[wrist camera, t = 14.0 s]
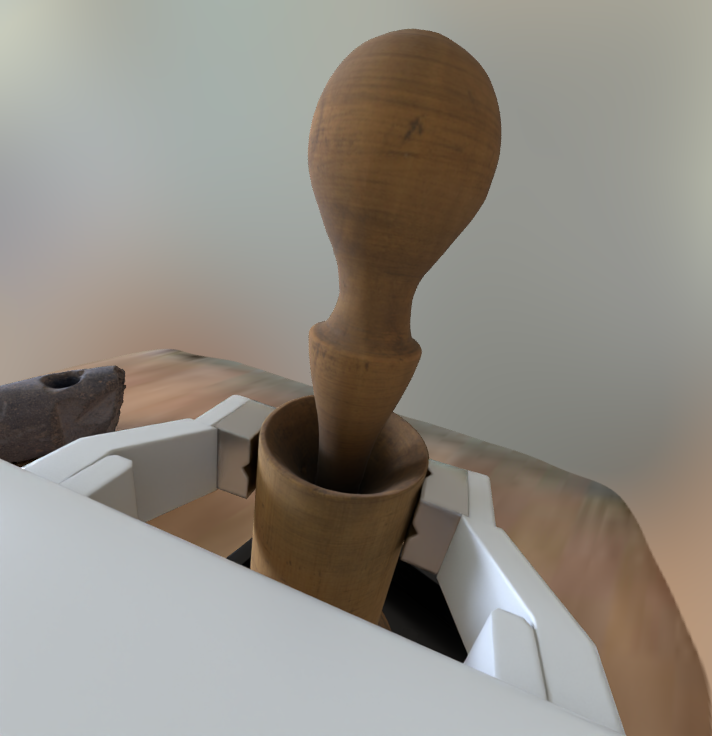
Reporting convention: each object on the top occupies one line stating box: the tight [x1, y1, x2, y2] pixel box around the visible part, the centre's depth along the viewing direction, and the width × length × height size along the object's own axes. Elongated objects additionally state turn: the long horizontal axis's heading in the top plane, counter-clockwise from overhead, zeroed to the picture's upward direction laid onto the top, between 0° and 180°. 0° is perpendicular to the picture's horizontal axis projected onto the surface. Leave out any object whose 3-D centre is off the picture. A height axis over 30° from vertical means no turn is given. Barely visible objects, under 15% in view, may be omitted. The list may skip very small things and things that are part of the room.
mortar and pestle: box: [250, 29, 501, 631], centre depth 8 cm, size 7×6×18 cm
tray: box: [226, 538, 468, 663], centre depth 14 cm, size 12×16×8 cm
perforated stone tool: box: [0, 366, 126, 463], centre depth 28 cm, size 15×5×7 cm, turn 137°
